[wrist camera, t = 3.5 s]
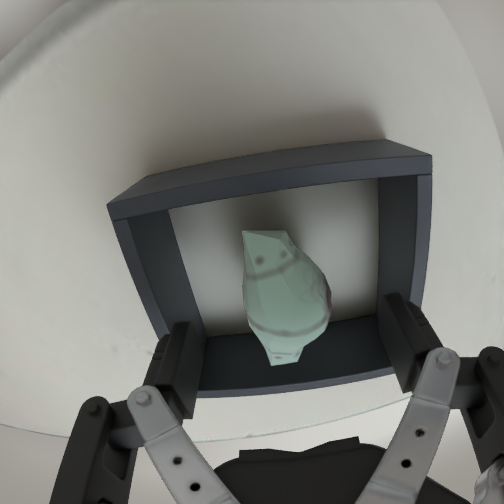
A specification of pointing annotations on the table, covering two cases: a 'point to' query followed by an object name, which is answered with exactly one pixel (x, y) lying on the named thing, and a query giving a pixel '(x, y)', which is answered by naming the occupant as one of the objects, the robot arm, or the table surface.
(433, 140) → the table surface
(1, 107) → the table surface
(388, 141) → the bin
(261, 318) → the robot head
